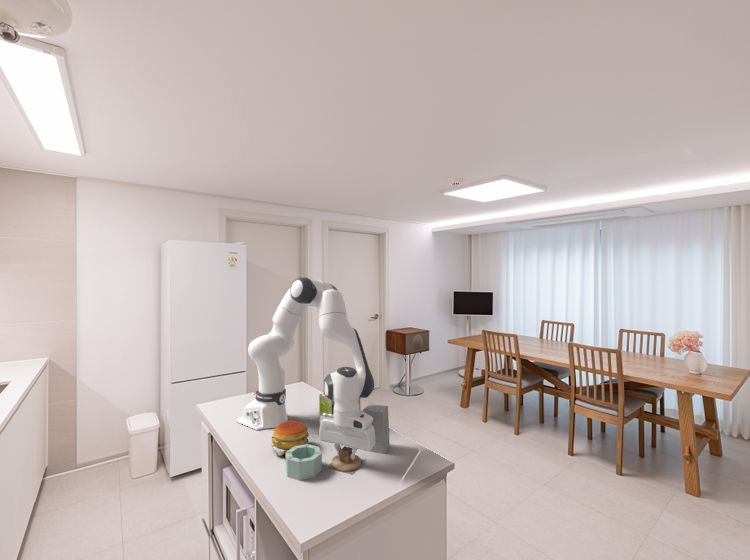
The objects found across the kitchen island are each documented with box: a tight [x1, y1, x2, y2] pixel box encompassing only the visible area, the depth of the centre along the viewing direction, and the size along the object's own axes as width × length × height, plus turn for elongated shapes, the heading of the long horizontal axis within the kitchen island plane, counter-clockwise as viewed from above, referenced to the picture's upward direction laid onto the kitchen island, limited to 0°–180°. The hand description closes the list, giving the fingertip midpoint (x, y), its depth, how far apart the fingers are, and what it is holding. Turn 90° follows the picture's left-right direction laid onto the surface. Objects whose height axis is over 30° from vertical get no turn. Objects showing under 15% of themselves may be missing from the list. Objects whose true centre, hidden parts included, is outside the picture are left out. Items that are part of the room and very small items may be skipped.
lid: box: [331, 445, 362, 473], centre depth 118 cm, size 10×10×5 cm
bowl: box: [285, 443, 323, 481], centre depth 114 cm, size 11×11×6 cm
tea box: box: [318, 392, 362, 417], centre depth 148 cm, size 15×10×15 cm
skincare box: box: [362, 403, 391, 455], centre depth 128 cm, size 8×7×16 cm
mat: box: [325, 458, 367, 476], centre depth 118 cm, size 10×10×1 cm
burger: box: [271, 419, 310, 457], centre depth 128 cm, size 14×14×10 cm
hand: (346, 457), depth 118 cm, fingers closed on lid, 3 cm apart
